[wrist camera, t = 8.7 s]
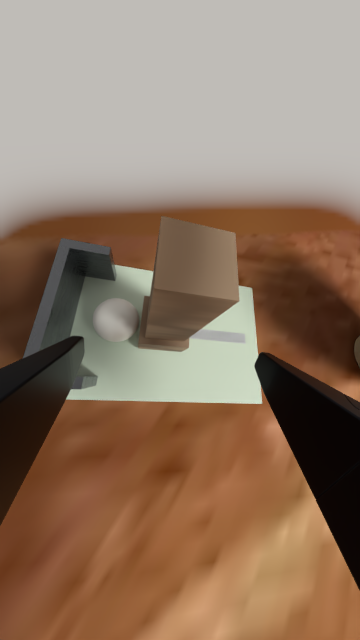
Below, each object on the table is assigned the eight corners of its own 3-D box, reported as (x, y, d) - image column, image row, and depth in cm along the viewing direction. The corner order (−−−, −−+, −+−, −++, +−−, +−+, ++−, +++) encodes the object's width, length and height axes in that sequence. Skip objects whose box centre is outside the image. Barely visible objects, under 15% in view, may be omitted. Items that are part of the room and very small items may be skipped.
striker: (183, 312, 20) (244, 226, 8) (181, 351, 18) (251, 314, 7) (143, 307, 19) (150, 203, 7) (138, 348, 17) (137, 299, 6)
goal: (116, 274, 19) (110, 247, 15) (96, 385, 16) (80, 389, 12) (78, 268, 19) (61, 238, 15) (47, 383, 15) (13, 387, 11)
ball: (141, 311, 14) (87, 303, 13) (135, 352, 16) (86, 348, 15) (142, 296, 18) (99, 289, 17) (137, 331, 19) (97, 326, 18)
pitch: (248, 290, 24) (252, 287, 23) (257, 402, 20) (262, 403, 19) (82, 263, 20) (80, 259, 19) (47, 397, 16) (42, 398, 15)
